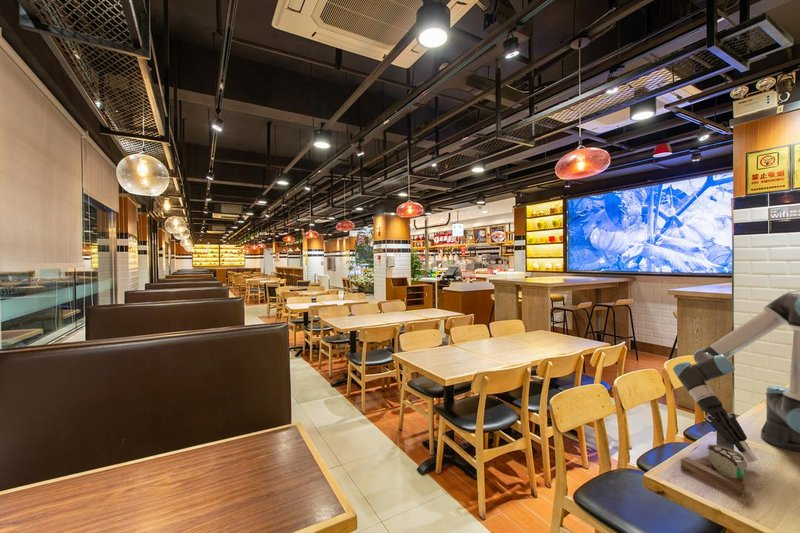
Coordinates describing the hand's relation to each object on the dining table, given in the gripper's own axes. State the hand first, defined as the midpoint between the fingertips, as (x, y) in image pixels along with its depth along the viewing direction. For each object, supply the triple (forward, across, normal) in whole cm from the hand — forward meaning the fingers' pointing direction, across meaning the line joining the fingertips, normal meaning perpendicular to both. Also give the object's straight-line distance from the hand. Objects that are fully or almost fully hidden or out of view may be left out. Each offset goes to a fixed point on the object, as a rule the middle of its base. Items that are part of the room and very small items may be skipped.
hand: (753, 461), depth 128 cm
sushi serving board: (+2, +10, -2) cm, 11 cm away
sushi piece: (+5, +15, 0) cm, 16 cm away
